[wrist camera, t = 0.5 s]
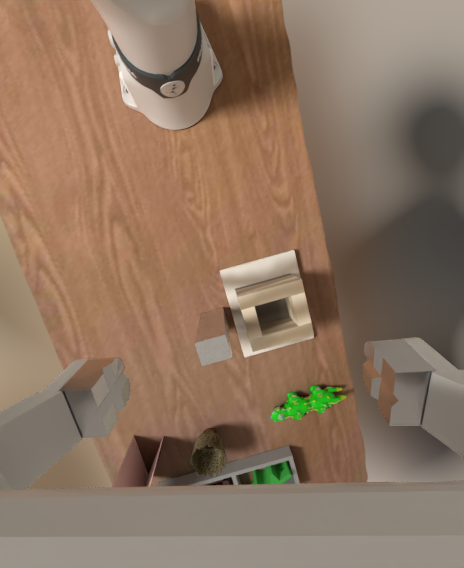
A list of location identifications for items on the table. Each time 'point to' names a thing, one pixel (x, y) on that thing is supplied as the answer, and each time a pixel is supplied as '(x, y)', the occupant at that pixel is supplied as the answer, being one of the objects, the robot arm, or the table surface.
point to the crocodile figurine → (307, 403)
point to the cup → (208, 454)
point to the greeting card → (135, 468)
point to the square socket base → (268, 303)
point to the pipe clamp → (272, 474)
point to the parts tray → (239, 469)
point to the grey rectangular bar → (213, 337)
